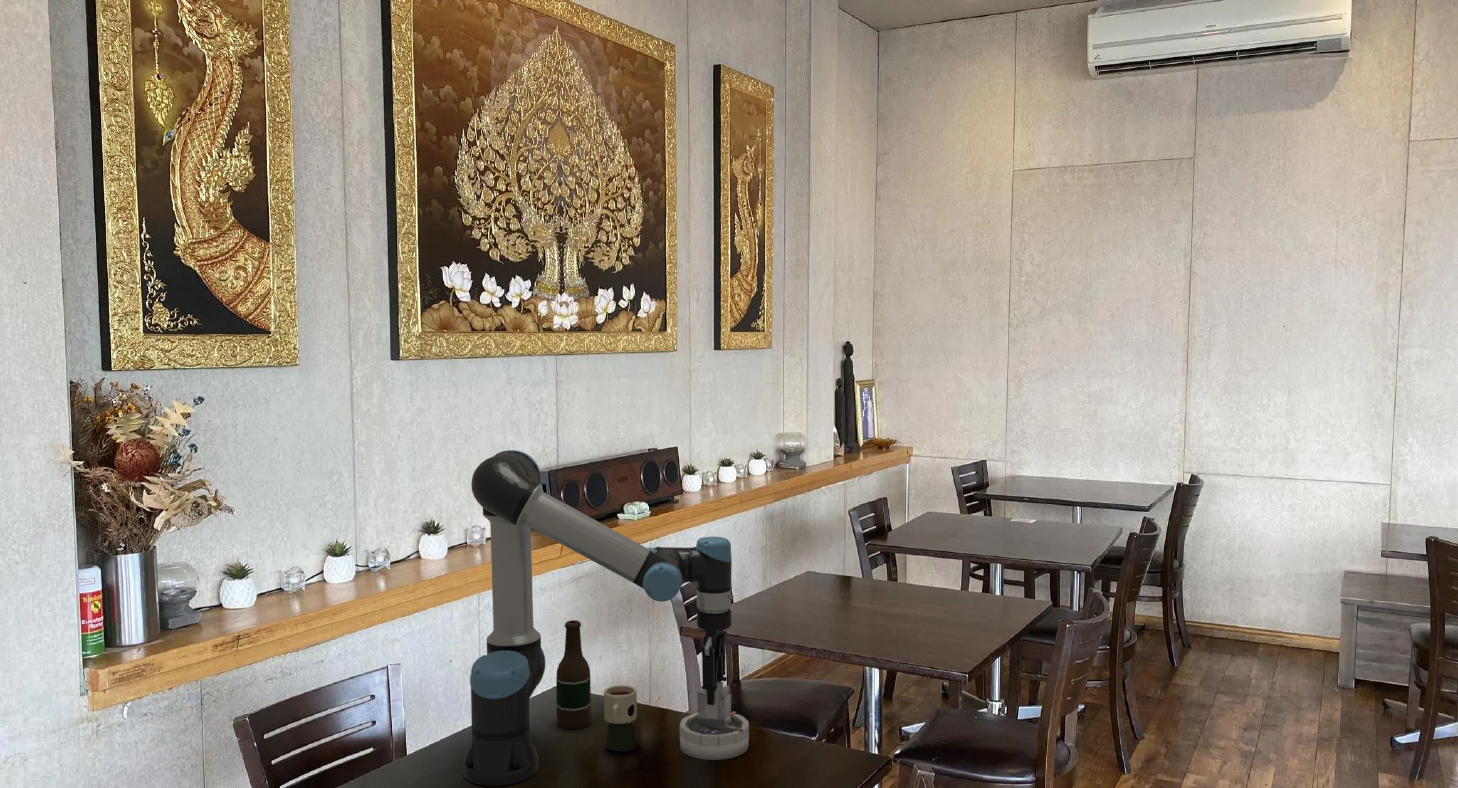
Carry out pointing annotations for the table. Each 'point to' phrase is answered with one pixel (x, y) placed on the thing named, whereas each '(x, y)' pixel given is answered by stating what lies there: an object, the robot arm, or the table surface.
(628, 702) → the character mug
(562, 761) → the table surface
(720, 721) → the dial
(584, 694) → the beer bottle
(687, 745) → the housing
